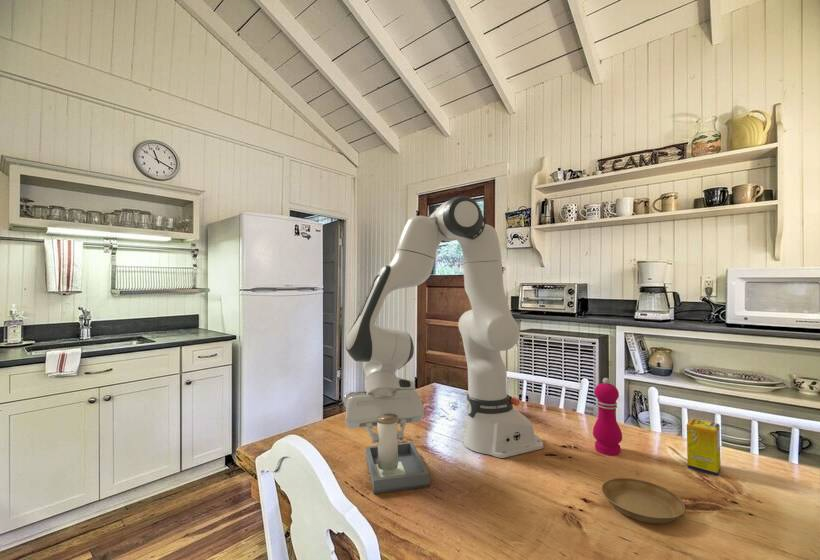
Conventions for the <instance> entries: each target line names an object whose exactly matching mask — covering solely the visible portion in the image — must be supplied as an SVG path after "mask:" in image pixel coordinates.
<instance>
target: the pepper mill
mask: <svg viewBox="0 0 820 560" xmlns="http://www.w3.org/2000/svg"><path fill="white" fill-rule="evenodd" d="M593 393H594V396H595V397H596V399H597V400H596V406H597V407H598V415H597V416H598V417H597V419H596V421H595V423H594V425H593V429H592V436H593V438H594V439H595V441H594V449H595V450H596V452H598V453H600V454H602V455H607V456H618V455H620V454H621V449H622V448H621V445H620V443H621V442H622V441H623V433H622V430H621V428H620V426H619V424H618V421H617V419H616V418H617V417H616V409H617V408H618V406H617V405H618V402H617V400H619V397H620V392H619V390H618V388H617V387H616V386H615V385H614V384H612V383H611V380H610V379H609V378H608V377H604V378H603V379H602V382H601V383H599V384H597V385H596V386H595V388H594V392H593Z"/></svg>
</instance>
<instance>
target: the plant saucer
mask: <svg viewBox="0 0 820 560" xmlns="http://www.w3.org/2000/svg"><path fill="white" fill-rule="evenodd" d="M600 490H601V493H602V495H603V496H604V497H605V499H606V500H607V501H608V502H609V503H610V505H611V506H613V508H615V509H616V510H617V511H618V512H620V513H621V514H622V515H624V516H626V517H627V518H630V519H633V520H636V521H638V522H642V523H647V524H655V525H657V524H658V525H661V524H667V523H670V522H672V521H675V520H676V519H678V518H679V517H681V516H682V514H684V512H685V510H686V506H685V503H684V501H682V499H681V498H680V497H679V496H678V495H676V494H675V493H674V492H672V491H670V490H669V489H667V488H665V487H663V486H661V485H658V484H656V483H653V482H649V481H647V480H642V479H638V478H632V477H615V478H610V479H608V480H605V481H604V482H603V483H602V484H601V488H600Z"/></svg>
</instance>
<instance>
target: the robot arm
mask: <svg viewBox="0 0 820 560" xmlns="http://www.w3.org/2000/svg"><path fill="white" fill-rule="evenodd" d="M453 241H457V243H459V246H460V248H461V251H462V264H463V265H462V267H463V280H464V281H463V285H464V290H465V293H466V295H467V298H468V300H469V303H470V308H471V309H469V310H466V311H464V312H463V314H461V315H460V317H459V319H458V330H459V331H458V332H459V333H460V336H461V337H462V338H461V340H462V344H463V349H464V353H465V354H464V355H465V360H466V364H467V365H466V366H467V388H468V390H467V391H468V392H467V394H466V414H467V420H466V421H467V423H466V428H465V429H466V430H465V434H464V438H463V444H464V446H465V447H466V448H467V449H469V450H471V451H473V452H476V453H479V454H483V455H489V456H492V457H496V458H499V459H505V458H509V457H513V456H517V455H520V454H526V453H529V452H534V451H537V450H541V449H544V441H543V440H542V439H541V438H540V437H539V435H537V434H535V430H534V426H533V423H532V422H531V421H530V419H529V418H527V417H526V416H525V415H523V414H522V413H521V412H519V410H517V409H516V408H515V407H519V405H520V404H521V401H520V399H519V398H517V397H513V396H511V395H509V394H508V384H507V383H508V380H507V378H508V377H507V375H508V374H507V372H508V371H507V367H506V364H505V363H504V361H503V359H502V354H501V352H503V351H508V350H510V349H512V348H514V346H515V345H516V344H517V343H518V340H519V339H520V326H519V324H518V323H517V321H516V320H515V318H514V317H513V315H512V311H511V309H510V306H509V302H508V298H507V297H506V291H505V287H504V277H503V276H504V275H503V265H502V263H503V261H502V252H501V250H502V249H501V244H500V241H499V236H498V232H497V230H496V229H495V227H493V226H492V225H490V224H488V223H486V219H485V217H484V216H483V212H482V209H481V207H480V205H479V204H478V203H477V201H476V200H475V199H473V198H472V197H469V196H466V195H465V196H455V197H452V198H451V199H450V200H449V199H448V201H445V202H443V203H441V205H439V206H438V207H437V208H436V209H435V210H433V211H432V212H431V213H430V214H429V215H428V216H427V215H426V216H425V215H415V216H412V217H410V218H409V219H408V220H407V221H406V224H405V225H404V227H403V229H402V232H401V234H400V236H399V240H398V243H397V246H396V250H395V253H394V255H393V258H392V260H391V261H390V262H389V263H388V264H387V265H384V266H382V267H381V268H380V269H379V270H378V271H377V273H376V275H375V278H374V279H373V280H372V284H371V285H370V287H369V290H368V292H367V295H366V296H365V299H364V300H363V304H362V305H361V307H360V311H359V313H358V315H357V316H356V319H355V321H354V323H353V324H352V326H351V327H350V330H349V331H348V334H347V337H346V340H345V350H346V352H347V353H348V355H349V356H350V358H351V359H353V361H355V362H359V363H361V362H362V363H363V365H362V366H363V367H362V368H363V371H364V374H365V378H364V387H365V388H364V389H365V390H362V391H351V392H348V393H347V394H346V395H344V397H343V399H342V400H343V406H344V408H345V426H346V427H347V428H348V429H358V428H365V430H366V433H368V435H369V436H370V438H371V444H378V433H377V432H376V433H375V432H374V431H373V429H372V428H373V427H377V416H378V415H381V414H388V413H391V414H396V415H397V416H398V421H397V422H398V425H399V427H400V430H398V441H404V439H405V434H404V432H405V429H406V425H407V424H408V423H410V424H411V423H420V422H422V420H423V418H424V416H425V409H424V404H423V401H422V398H421V396H420V394H419V392H418V391H416V390H415V389H416V385H415V382H414V381H413V380H410V379H407V378H401V377H397V375H396V371H397V370H398V371H399V370H400V369H402V368H403V367H404V366H405V365H407V364H408V363H409V362H410V361H411V359H412V358H413V357H414V352H415V348H414V347H415V346H414V341H413V338H412V337H411V335H410V334H409V333H408V331H404V330H399V329H395V328H389V327H384V326H379V325H376V321H377V319H378V316H379V314H380V311H381V310H382V307H383V304H384V302H385V300H386V298H387V297H388V295H389V294H391V293H392V292H393V291H396V290H399V289H408V288H413V287H417V286H420V285H421V284H423V283H425V282H426V281H427V280H428V279H429V278H430V276H431V274H432V271H433V268H434V266H435V265H434V264H435V260H436V256H437V252H438V251H437V250H438V249H439V246H440V244H441V243H448V242H453ZM513 405H514V406H515V407H514V406H513Z"/></svg>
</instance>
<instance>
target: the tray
mask: <svg viewBox="0 0 820 560" xmlns="http://www.w3.org/2000/svg"><path fill="white" fill-rule="evenodd" d="M365 459H366V460H365V461H366V464H367V468H368V474H369V478H370V483H371V487H372V493H373V494H374V495H377V494H385V493H391V492H393V493H394V492H399V491H400V492H401V491H407V490H414V489H423V488H428V487H430V485H431V483H430V479H431V477H430V475H431V473H430V472H429V470H428V468H427V466H426V463H424V460H423V458H422V457H421V455H420V453H419V451H418V449H417V447H416V445H415V443H414V441H406V442H398V467H397V468H396V469H394V470H389V471H385V470H381V469H379V468H378V444H377V445H369V446H365Z"/></svg>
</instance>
